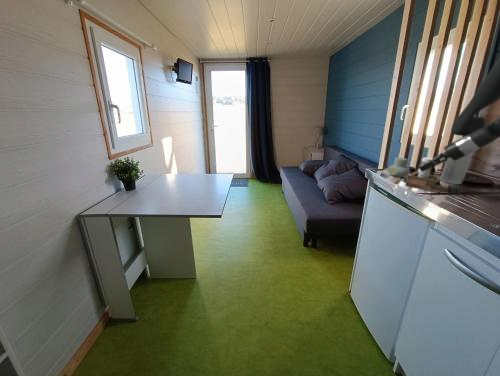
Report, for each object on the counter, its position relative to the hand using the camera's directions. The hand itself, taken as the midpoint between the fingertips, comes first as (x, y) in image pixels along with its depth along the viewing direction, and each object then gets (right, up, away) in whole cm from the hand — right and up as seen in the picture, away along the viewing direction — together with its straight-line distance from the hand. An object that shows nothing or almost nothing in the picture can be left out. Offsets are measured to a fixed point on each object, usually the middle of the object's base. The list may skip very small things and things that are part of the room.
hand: (422, 168), depth 111 cm
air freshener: (0, -3, +19) cm, 19 cm away
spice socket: (+2, -9, +2) cm, 10 cm away
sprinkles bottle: (+1, -8, +2) cm, 9 cm away
